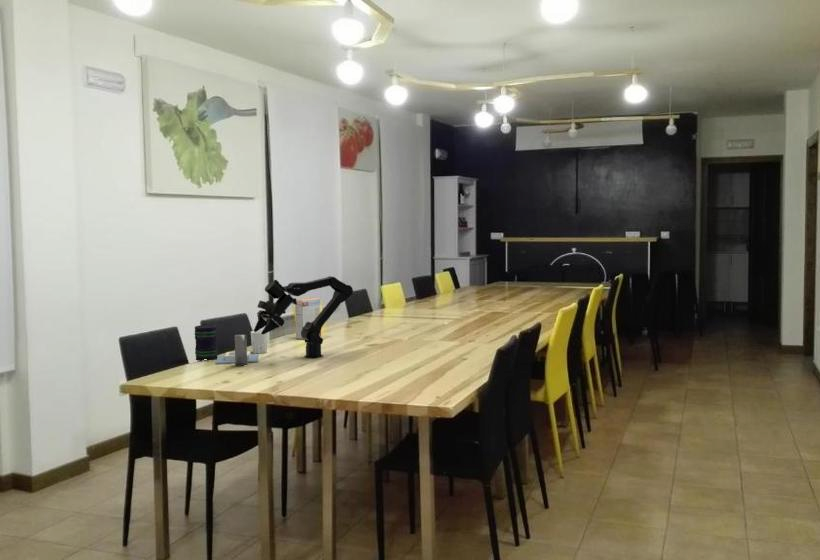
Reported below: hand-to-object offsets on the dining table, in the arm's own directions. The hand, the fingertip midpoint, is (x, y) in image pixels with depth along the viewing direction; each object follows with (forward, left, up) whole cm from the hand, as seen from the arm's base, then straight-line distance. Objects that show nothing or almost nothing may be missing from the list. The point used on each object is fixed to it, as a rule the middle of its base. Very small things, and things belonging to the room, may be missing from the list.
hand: (258, 332), depth 322 cm
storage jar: (+28, +6, -14) cm, 32 cm away
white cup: (+20, -19, -14) cm, 31 cm away
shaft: (+3, +8, -13) cm, 16 cm away
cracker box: (+31, -65, -14) cm, 74 cm away
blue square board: (+14, 0, -13) cm, 19 cm away
